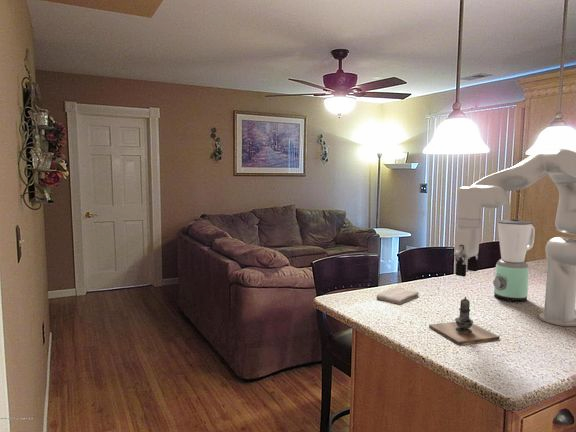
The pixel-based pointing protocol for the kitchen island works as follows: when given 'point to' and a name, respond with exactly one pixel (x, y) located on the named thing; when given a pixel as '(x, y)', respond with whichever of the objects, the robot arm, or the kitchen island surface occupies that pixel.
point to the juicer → (513, 259)
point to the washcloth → (397, 295)
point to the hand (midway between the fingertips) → (466, 273)
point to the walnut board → (463, 338)
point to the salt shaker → (464, 317)
